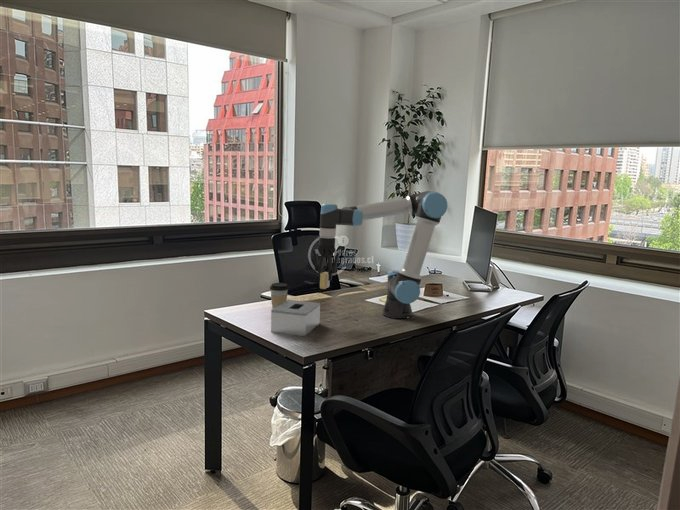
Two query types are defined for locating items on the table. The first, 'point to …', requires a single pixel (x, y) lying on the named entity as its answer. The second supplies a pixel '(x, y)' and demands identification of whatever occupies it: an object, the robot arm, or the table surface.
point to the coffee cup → (278, 293)
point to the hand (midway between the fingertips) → (324, 286)
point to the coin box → (295, 317)
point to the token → (323, 280)
